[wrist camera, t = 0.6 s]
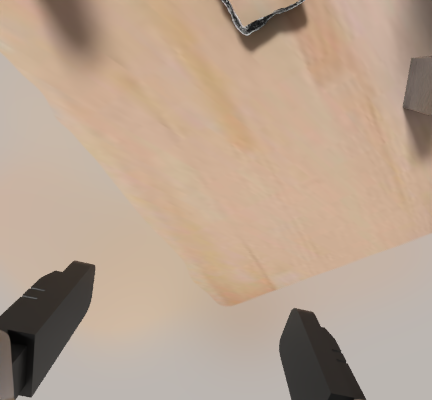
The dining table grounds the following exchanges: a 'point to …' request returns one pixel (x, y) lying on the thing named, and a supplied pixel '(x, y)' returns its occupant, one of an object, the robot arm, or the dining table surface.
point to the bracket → (419, 86)
